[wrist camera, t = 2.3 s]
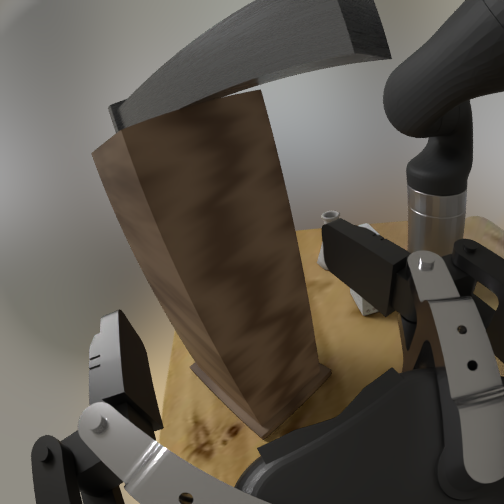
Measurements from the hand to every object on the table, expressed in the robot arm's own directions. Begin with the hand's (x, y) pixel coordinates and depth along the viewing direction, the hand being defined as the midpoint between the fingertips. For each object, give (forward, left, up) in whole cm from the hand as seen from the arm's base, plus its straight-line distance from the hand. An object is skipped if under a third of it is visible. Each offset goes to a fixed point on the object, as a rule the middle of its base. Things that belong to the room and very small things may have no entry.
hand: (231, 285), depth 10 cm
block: (-5, -9, +7) cm, 12 cm away
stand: (-5, -14, -25) cm, 29 cm away
